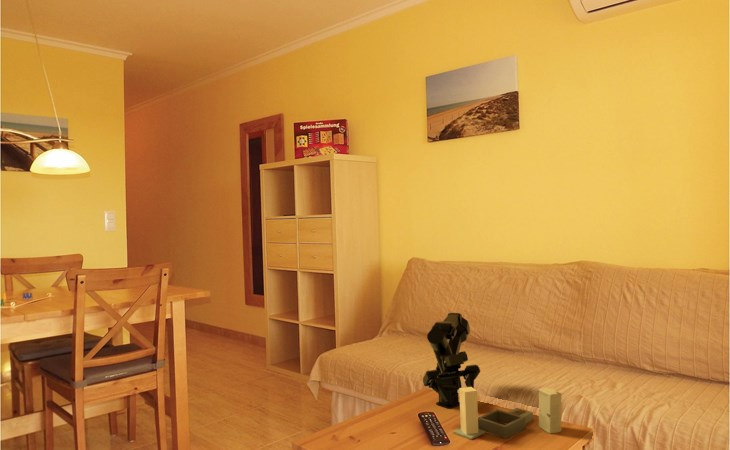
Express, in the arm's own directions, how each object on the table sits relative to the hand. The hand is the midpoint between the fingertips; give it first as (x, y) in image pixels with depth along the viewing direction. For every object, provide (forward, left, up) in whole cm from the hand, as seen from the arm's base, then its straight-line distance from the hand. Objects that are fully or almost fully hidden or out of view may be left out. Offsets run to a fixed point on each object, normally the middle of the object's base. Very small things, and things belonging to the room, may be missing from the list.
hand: (460, 399), depth 174 cm
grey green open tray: (+11, +10, -8) cm, 17 cm away
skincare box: (+22, +17, -9) cm, 29 cm away
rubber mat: (+6, -3, -8) cm, 11 cm away
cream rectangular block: (+6, -3, -8) cm, 10 cm away
